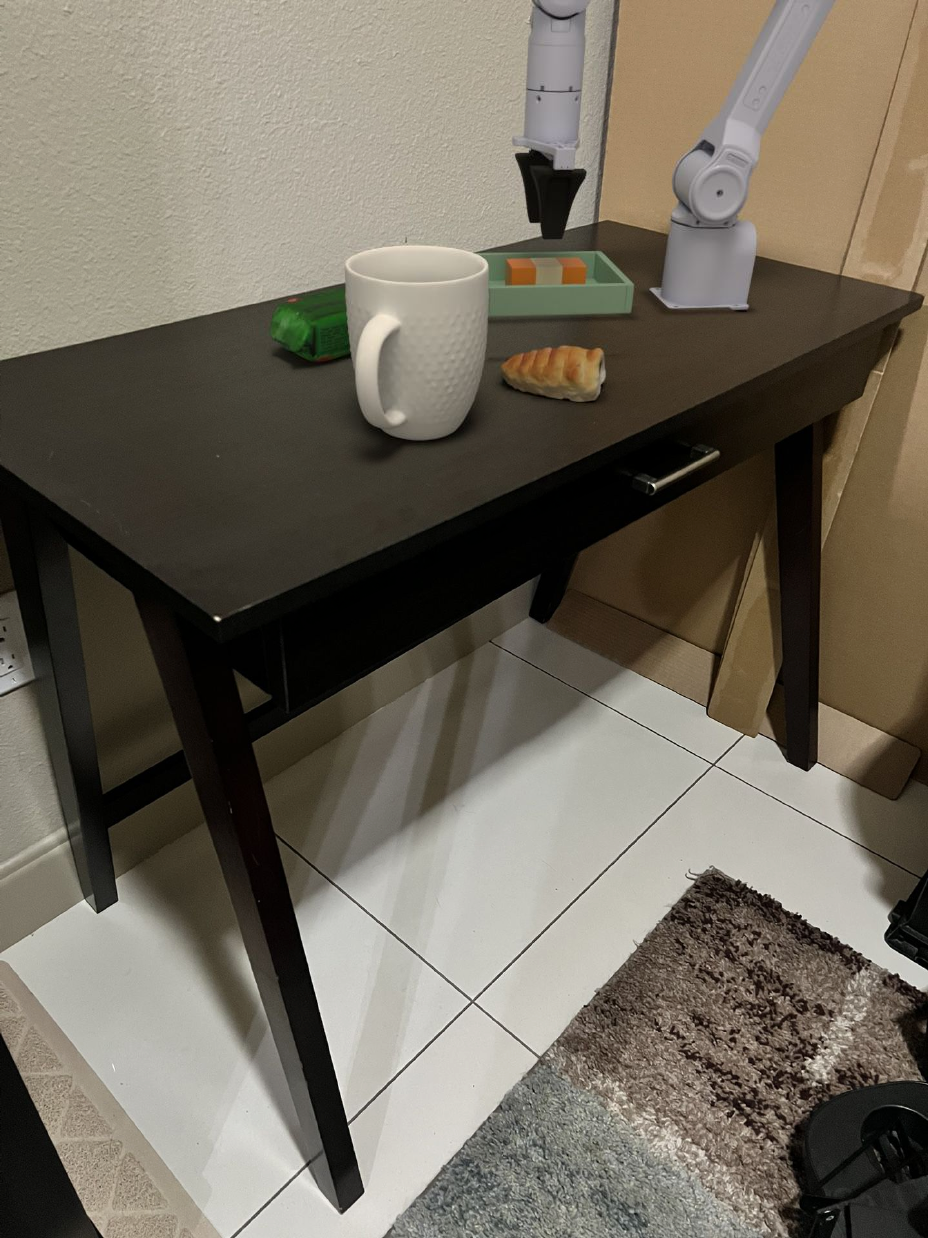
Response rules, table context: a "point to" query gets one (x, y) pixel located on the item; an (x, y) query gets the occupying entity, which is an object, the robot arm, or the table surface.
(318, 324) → the snack package
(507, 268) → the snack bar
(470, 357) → the mug
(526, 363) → the pastry
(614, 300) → the tub
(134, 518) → the table surface
